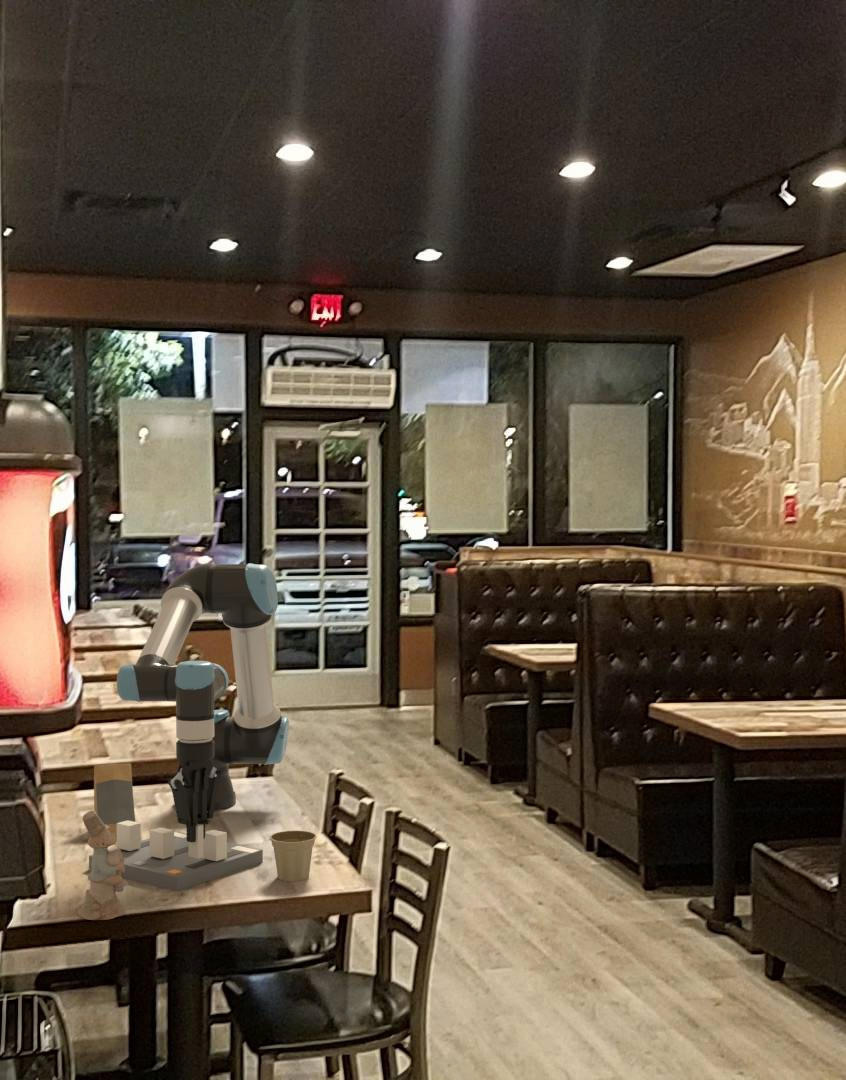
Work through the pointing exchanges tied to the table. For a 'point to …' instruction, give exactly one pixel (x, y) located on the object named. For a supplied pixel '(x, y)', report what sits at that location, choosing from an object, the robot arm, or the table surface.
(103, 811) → the sandwich container
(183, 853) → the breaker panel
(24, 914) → the table surface
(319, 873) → the table surface
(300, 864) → the flower pot
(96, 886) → the figurine
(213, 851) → the white upright block
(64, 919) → the table surface
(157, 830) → the middle handle
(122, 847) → the side handle
